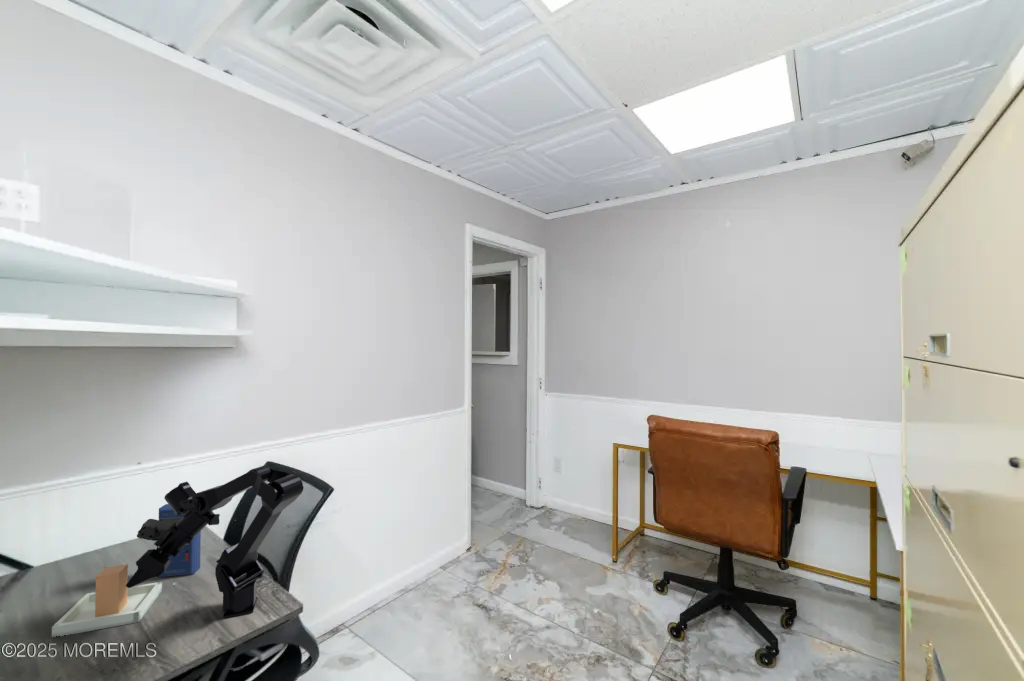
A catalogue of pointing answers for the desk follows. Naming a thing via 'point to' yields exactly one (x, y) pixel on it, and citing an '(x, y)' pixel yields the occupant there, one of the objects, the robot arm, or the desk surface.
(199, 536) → the electronic device
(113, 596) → the block
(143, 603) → the tray
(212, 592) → the desk surface
